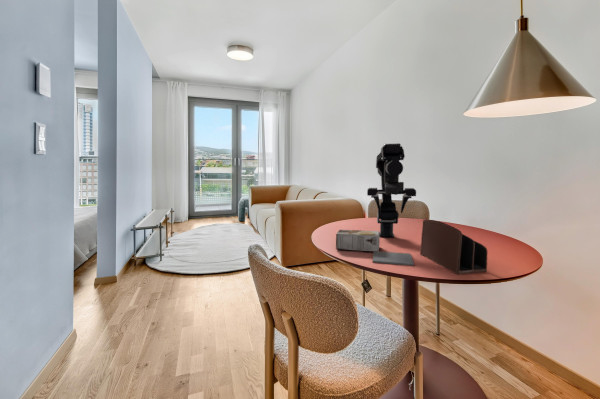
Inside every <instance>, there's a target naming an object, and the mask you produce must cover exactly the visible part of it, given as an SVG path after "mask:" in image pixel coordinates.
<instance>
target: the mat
mask: <svg viewBox="0 0 600 399" xmlns="http://www.w3.org/2000/svg"><path fill="white" fill-rule="evenodd" d="M372 252H373V254H372V264H373V263H375V264H388V265H399V266H412V267H413V266H414V264H415V263H414V260H413V257H412V254H411V253H408V252H393V251H392V252H391V251H378V252H377V251H372Z"/></svg>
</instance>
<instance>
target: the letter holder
mask: <svg viewBox="0 0 600 399" xmlns="http://www.w3.org/2000/svg"><path fill="white" fill-rule="evenodd" d="M420 239H421V241H420V255H421V256H423V257H425V258H427V259H428V260H430V261H433V262H434V263H436V264H438V265H439V266H442V267H443V268H445V269H447V270H449V271H450V272H452V273H454V274H456V275H466V274H479V273H487V272H488V271H487V269H488V248H487V247H486V245H484V244H482V243H481V242H477V241H475V240H474V239H472V238H471V237H470V236H467V235H465V234H463V233H462V231H461V230H460V229H458V228H456V227H454V226H452V225H450V224H447V223H445V222H443V221H440V220H434V219H423V221H422V229H421V238H420Z"/></svg>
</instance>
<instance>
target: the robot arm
mask: <svg viewBox="0 0 600 399" xmlns="http://www.w3.org/2000/svg"><path fill="white" fill-rule="evenodd" d="M405 157H406V156H405V151H404V147H403V146H402V145H401V143H398V142H397V143H384V144H383V146H382V147H381V148H380V153H378V154H377V156H376V159H375V169H377V174H378V175H379V177H381V178H380V179H381V189H378V187H368V188H367V189H366V190H367V192H366V195H367V196H370V197H371V198H373V199H374V201H375V204H376V207H377V209H378V210H377V216H376V222H377V224H379V227H380V228H379V238H395V233H394V224H395V225H396V224H398V223H399V217H400V216H399V215H400V213H401V214H403V212H404V208H405V207H406V204H407V202H408V200H409V199H412V197H416V196H417V190H416V189H415V188H414V187H405V186H404V184H405V183H404V182H403V181H400V179H399V177H400V175H401V174H402V173H403V170H404V166H403V164H402V162H401V161H404V159H405ZM379 195H381V203H380V198H379ZM392 195H394V196H395V195H396V196H397V195H402V200H401V206H400V213H399V212H398V210H397V206H396V205H397V204H396V202H394V201H393V200H392Z"/></svg>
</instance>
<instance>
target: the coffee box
mask: <svg viewBox="0 0 600 399" xmlns="http://www.w3.org/2000/svg"><path fill="white" fill-rule="evenodd" d="M379 233H380V230H358V229H356V230H355V229H353V230H352V229H339V230H338V231H337V233H335V236H336V237H335V250H341V251H342V250H343V251H344V250H346V251H347V250H348V251H364V252H374V251H377V252H378V251H379V250H380V237H379ZM379 252H380V251H379Z"/></svg>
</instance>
